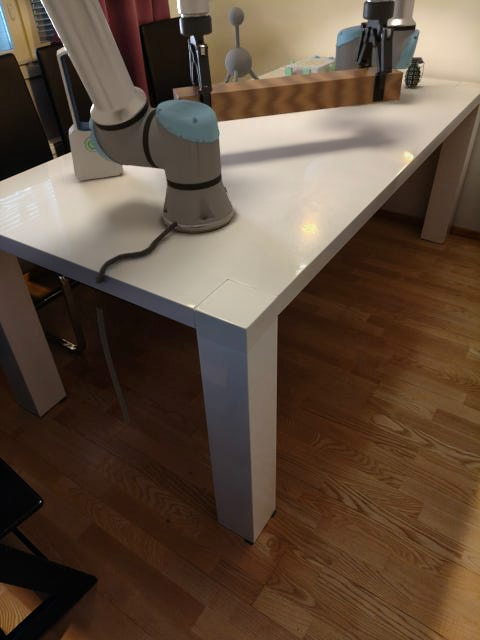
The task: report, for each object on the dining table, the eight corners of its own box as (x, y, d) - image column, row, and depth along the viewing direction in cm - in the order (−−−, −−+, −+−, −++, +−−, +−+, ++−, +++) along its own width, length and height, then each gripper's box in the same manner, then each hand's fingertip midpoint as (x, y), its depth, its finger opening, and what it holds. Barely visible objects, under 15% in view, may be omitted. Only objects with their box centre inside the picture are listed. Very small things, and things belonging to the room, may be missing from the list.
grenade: (402, 88, 186) (407, 59, 180) (402, 85, 191) (406, 56, 185) (420, 88, 185) (425, 59, 179) (420, 85, 189) (424, 56, 183)
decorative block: (306, 53, 217) (348, 56, 208) (306, 69, 221) (346, 73, 212) (276, 65, 201) (319, 68, 192) (276, 82, 205) (318, 86, 196)
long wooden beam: (181, 126, 122) (178, 97, 118) (176, 116, 130) (172, 88, 125) (399, 100, 132) (403, 72, 128) (382, 92, 140) (386, 65, 135)
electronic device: (76, 181, 127) (42, 52, 109) (76, 171, 133) (43, 47, 115) (124, 174, 130) (98, 47, 111) (122, 165, 135) (97, 42, 117)
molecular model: (285, 103, 178) (286, 6, 160) (229, 112, 172) (223, 12, 154) (260, 90, 196) (258, 1, 177) (208, 97, 190) (200, 6, 171)
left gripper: (220, 18, 105) (226, 125, 118) (202, 10, 123) (209, 104, 136) (186, 20, 104) (196, 128, 117) (172, 12, 121) (183, 107, 135)
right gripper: (416, 3, 113) (401, 104, 127) (373, -6, 130) (364, 85, 144) (386, 6, 111) (374, 108, 125) (347, -3, 129) (340, 88, 142)
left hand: (203, 115), depth 127 cm, fingers closed on long wooden beam, 10 cm apart
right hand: (369, 96), depth 135 cm, fingers closed on long wooden beam, 10 cm apart
